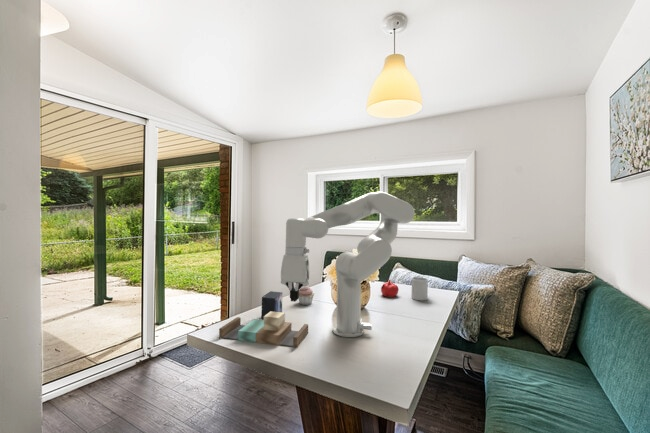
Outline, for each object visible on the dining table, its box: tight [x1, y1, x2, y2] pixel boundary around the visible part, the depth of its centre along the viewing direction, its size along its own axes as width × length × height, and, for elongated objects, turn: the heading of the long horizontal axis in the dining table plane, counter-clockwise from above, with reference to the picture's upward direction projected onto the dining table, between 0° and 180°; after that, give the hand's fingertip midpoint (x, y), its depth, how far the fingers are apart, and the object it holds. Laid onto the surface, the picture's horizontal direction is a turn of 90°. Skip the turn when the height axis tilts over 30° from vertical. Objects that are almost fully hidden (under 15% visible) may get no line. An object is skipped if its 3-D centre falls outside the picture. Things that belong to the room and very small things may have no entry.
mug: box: [411, 276, 429, 301], centre depth 171 cm, size 12×8×11 cm
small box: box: [260, 290, 283, 320], centre depth 137 cm, size 11×6×10 cm, turn 168°
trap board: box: [218, 316, 309, 348], centre depth 117 cm, size 31×13×4 cm, turn 76°
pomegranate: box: [380, 279, 399, 298], centre depth 175 cm, size 10×10×9 cm
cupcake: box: [298, 285, 315, 306], centre depth 159 cm, size 9×9×10 cm
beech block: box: [264, 311, 286, 331], centre depth 116 cm, size 6×6×5 cm
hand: (294, 300), depth 114 cm, fingers closed
